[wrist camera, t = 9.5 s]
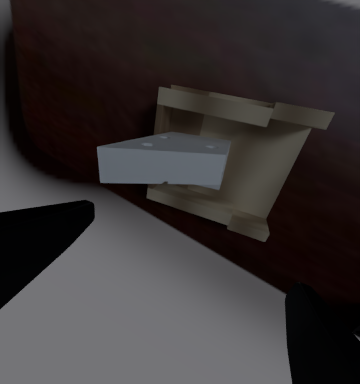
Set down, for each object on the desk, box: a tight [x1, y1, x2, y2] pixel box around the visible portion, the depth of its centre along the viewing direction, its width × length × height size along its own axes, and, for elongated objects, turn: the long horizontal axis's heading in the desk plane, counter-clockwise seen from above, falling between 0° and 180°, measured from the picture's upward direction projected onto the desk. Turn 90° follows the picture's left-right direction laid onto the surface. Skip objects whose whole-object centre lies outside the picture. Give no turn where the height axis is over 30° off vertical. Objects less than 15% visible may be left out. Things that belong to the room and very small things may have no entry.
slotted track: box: [147, 85, 335, 242], centre depth 16 cm, size 12×11×4 cm
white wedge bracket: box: [97, 132, 231, 190], centre depth 14 cm, size 4×10×9 cm, turn 84°
